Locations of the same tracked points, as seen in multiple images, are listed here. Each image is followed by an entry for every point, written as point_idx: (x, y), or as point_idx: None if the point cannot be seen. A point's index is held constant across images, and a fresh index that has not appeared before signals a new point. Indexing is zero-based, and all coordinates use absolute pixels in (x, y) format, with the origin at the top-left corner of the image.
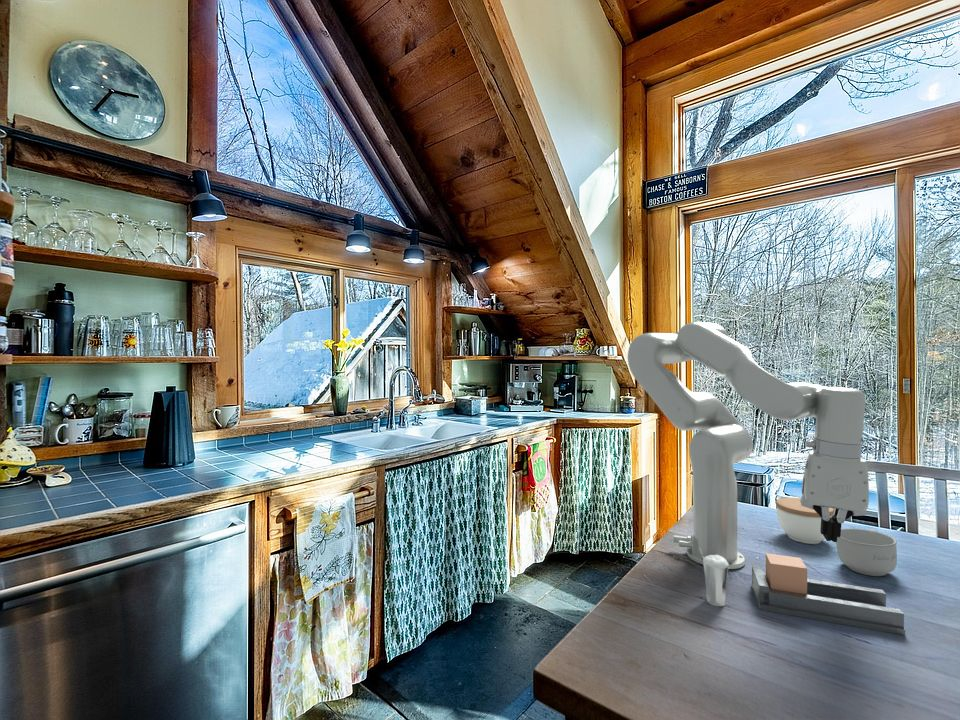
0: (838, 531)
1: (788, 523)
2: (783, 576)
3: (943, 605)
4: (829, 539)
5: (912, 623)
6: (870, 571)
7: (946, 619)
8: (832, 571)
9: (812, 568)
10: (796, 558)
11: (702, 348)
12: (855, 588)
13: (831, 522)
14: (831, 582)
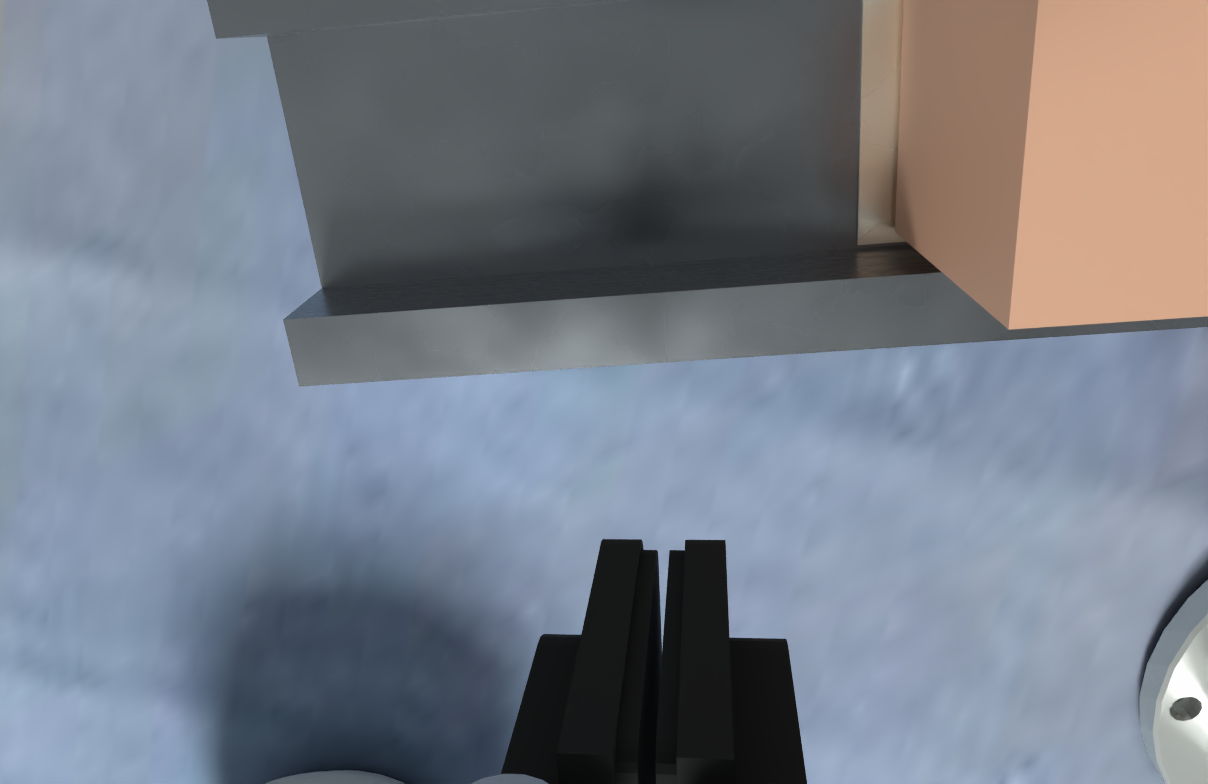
0: (559, 686)
1: None
2: None
3: (15, 535)
4: (697, 549)
5: (199, 175)
6: (340, 772)
7: (11, 341)
8: None
9: None
10: (1063, 290)
11: None
12: (490, 317)
13: (683, 752)
14: (655, 360)
